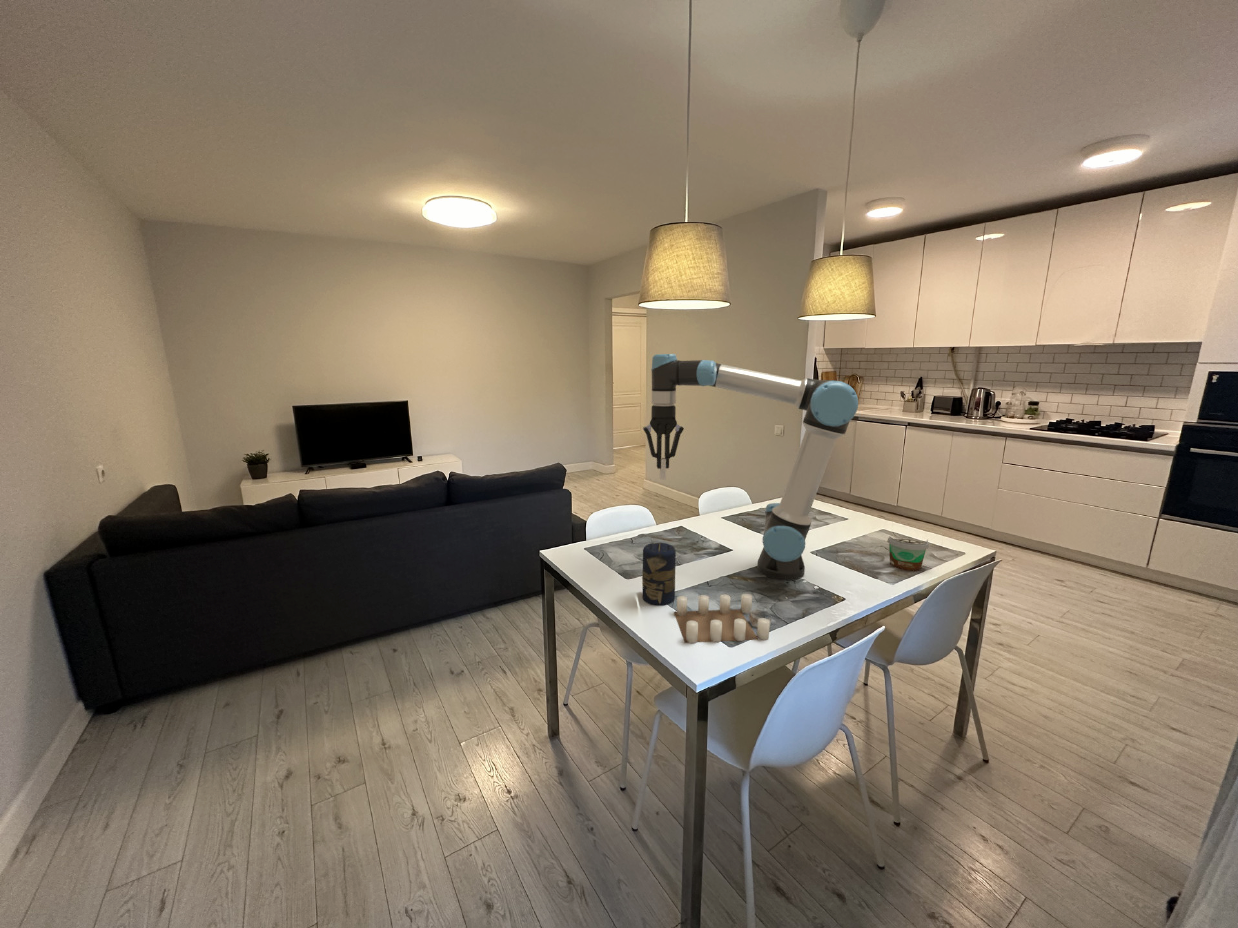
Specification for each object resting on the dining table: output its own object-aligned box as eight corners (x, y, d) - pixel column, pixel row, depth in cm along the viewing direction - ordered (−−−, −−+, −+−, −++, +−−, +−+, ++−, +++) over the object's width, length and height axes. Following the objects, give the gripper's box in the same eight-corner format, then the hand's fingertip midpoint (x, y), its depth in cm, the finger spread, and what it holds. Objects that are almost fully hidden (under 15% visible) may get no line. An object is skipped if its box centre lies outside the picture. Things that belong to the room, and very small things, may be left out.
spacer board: (765, 612, 134) (765, 608, 134) (787, 642, 119) (787, 637, 119) (673, 615, 132) (673, 611, 132) (684, 646, 117) (684, 642, 117)
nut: (765, 617, 129) (765, 608, 128) (772, 628, 123) (773, 619, 123) (747, 618, 128) (747, 609, 128) (754, 629, 123) (755, 620, 122)
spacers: (749, 608, 134) (750, 593, 133) (770, 640, 118) (771, 623, 117) (675, 611, 132) (676, 596, 131) (687, 643, 117) (687, 626, 116)
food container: (887, 569, 161) (890, 541, 159) (884, 562, 166) (887, 535, 164) (930, 574, 156) (934, 546, 154) (925, 567, 162) (929, 539, 160)
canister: (637, 606, 138) (638, 547, 134) (647, 591, 146) (648, 536, 143) (670, 611, 134) (671, 551, 131) (678, 596, 143) (679, 540, 139)
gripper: (681, 403, 153) (680, 475, 158) (641, 404, 152) (641, 476, 157) (686, 405, 145) (685, 480, 150) (644, 406, 145) (644, 481, 149)
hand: (662, 478), depth 153 cm, fingers closed
